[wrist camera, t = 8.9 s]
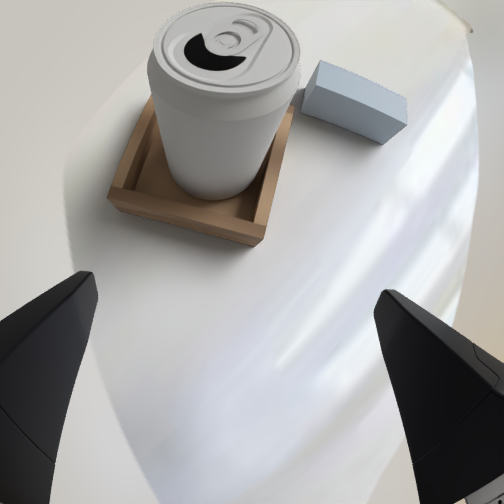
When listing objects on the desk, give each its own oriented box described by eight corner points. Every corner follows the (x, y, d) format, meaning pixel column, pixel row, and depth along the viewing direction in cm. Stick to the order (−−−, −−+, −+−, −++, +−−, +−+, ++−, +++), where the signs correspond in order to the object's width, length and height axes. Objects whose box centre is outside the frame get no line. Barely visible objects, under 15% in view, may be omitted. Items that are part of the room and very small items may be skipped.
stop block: (383, 144, 24) (407, 124, 20) (300, 112, 23) (315, 84, 19) (384, 119, 25) (406, 98, 21) (305, 87, 24) (320, 59, 20)
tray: (255, 246, 21) (263, 238, 18) (119, 210, 20) (106, 197, 17) (284, 127, 23) (294, 106, 20) (165, 97, 22) (161, 74, 19)
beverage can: (150, 168, 20) (108, 52, 8) (208, 109, 21) (218, -18, 10) (221, 222, 21) (244, 134, 9) (275, 156, 22) (337, 43, 10)
